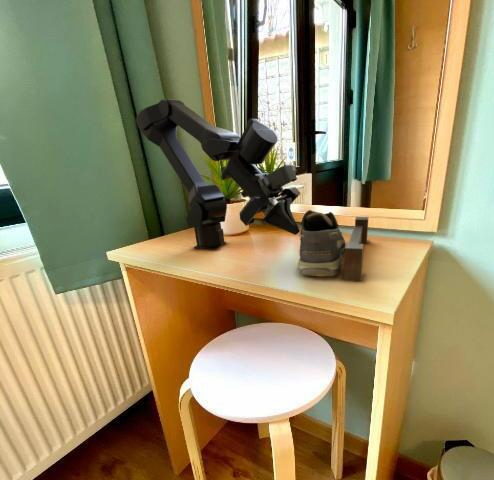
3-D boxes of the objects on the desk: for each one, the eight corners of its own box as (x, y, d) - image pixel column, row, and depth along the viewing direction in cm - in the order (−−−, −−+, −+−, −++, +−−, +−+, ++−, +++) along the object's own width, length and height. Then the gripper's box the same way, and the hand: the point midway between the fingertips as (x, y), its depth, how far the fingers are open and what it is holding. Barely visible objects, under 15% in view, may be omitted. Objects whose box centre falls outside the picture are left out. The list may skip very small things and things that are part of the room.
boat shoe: (342, 239, 84) (343, 199, 80) (354, 281, 57) (357, 225, 53) (303, 239, 85) (302, 200, 81) (296, 281, 58) (295, 226, 54)
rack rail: (343, 280, 58) (344, 248, 55) (354, 240, 82) (356, 216, 80) (360, 281, 57) (362, 248, 54) (366, 240, 82) (368, 217, 79)
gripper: (247, 151, 54) (304, 217, 54) (291, 150, 69) (336, 201, 69) (217, 195, 60) (268, 254, 60) (264, 185, 76) (305, 232, 75)
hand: (297, 233), depth 66 cm, fingers closed
